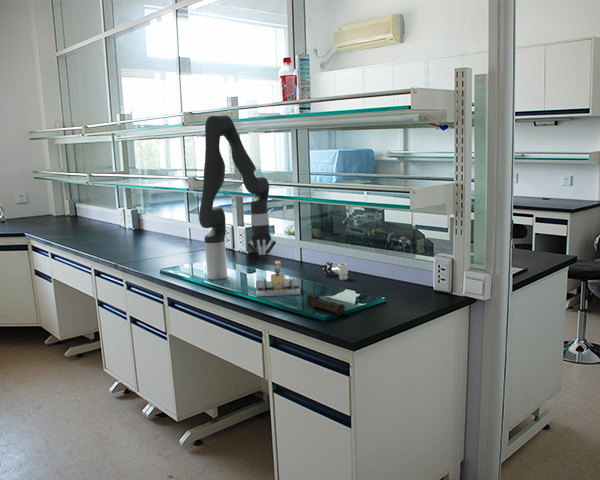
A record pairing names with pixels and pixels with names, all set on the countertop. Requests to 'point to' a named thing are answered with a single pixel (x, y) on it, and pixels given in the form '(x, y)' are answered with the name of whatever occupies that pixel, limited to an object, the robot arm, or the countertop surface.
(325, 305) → the hand tool
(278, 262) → the valve lever
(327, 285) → the countertop surface
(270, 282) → the valve manifold
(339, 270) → the valve
